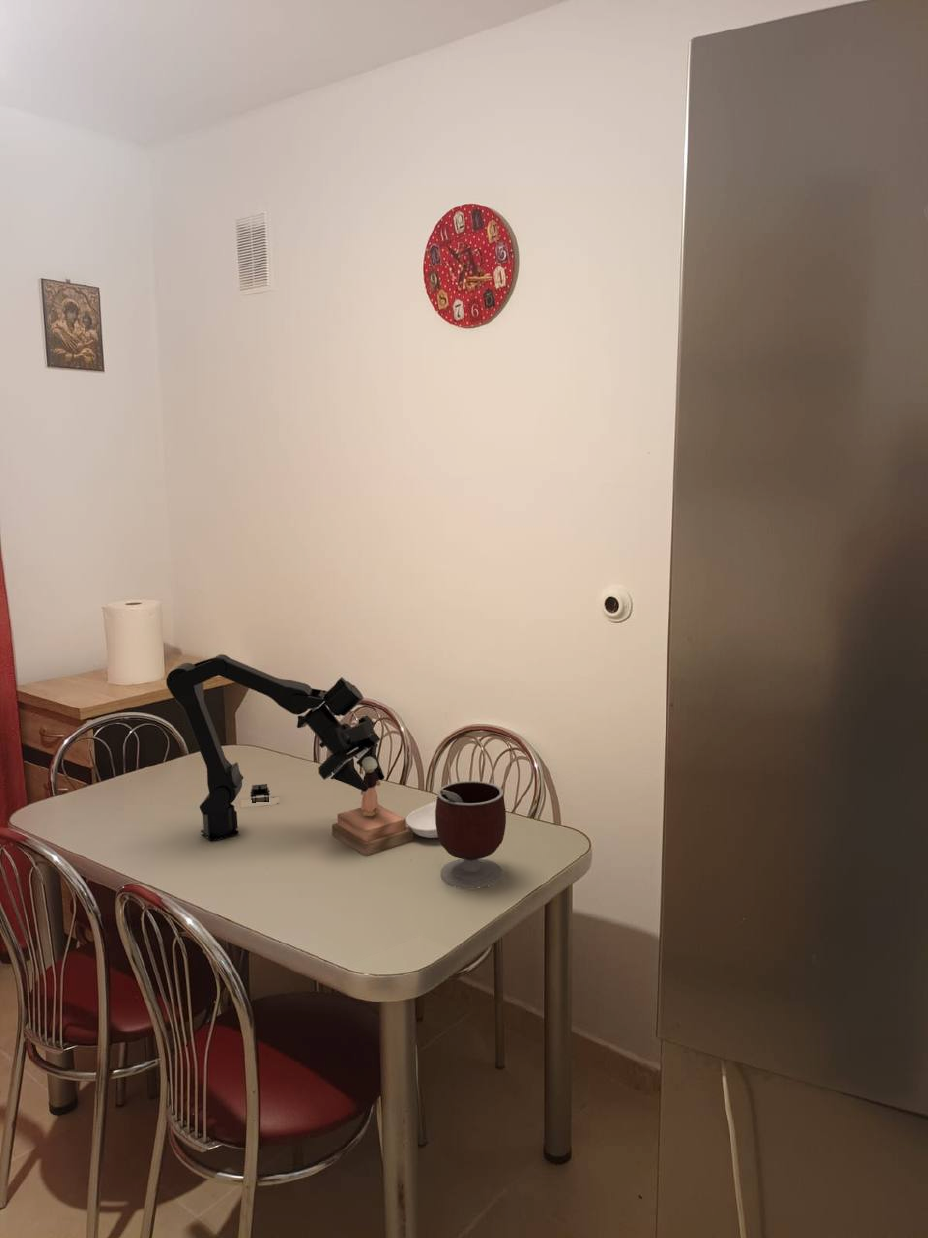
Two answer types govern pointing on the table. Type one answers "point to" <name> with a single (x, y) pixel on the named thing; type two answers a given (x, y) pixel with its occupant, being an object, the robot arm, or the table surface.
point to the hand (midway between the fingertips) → (375, 784)
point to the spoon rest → (423, 821)
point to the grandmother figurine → (370, 787)
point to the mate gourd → (470, 831)
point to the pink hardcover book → (371, 830)
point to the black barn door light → (259, 793)
